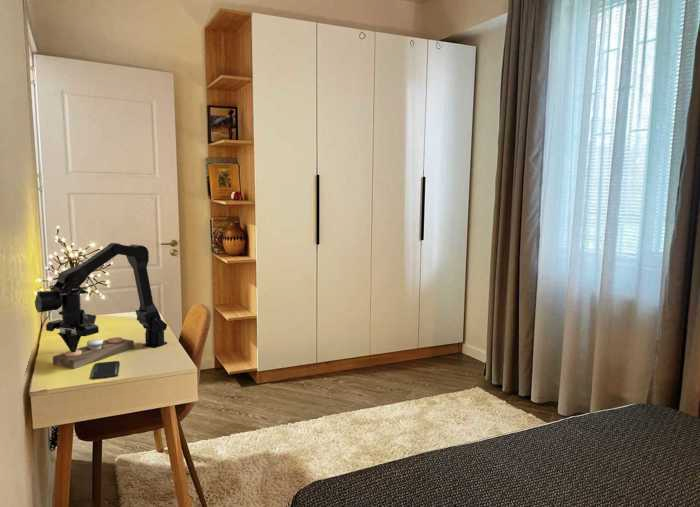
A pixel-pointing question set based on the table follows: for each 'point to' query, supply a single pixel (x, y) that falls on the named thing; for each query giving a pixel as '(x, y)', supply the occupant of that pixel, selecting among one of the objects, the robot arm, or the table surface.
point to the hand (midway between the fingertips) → (73, 352)
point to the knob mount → (92, 354)
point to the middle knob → (95, 344)
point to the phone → (105, 370)
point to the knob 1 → (73, 353)
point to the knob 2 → (115, 340)
